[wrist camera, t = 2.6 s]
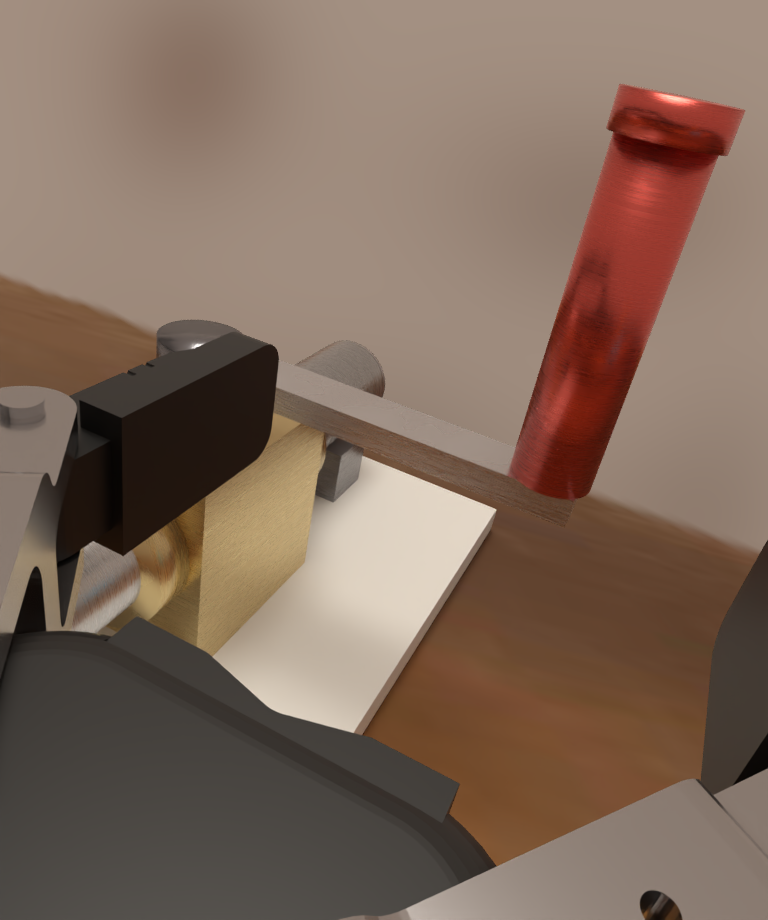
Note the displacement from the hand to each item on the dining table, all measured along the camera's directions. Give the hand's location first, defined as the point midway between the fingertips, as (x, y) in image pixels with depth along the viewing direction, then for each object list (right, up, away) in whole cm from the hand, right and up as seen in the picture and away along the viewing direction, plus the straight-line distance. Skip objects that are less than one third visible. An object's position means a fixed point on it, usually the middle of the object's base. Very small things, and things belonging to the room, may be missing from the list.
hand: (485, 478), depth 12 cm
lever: (-3, +1, +15) cm, 15 cm away
